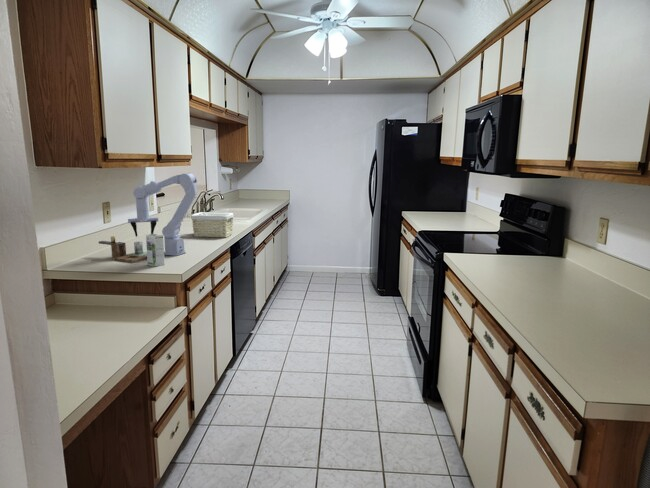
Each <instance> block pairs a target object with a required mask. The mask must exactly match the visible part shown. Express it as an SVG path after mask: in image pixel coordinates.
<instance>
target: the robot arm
mask: <svg viewBox="0 0 650 488" xmlns="http://www.w3.org/2000/svg"><path fill="white" fill-rule="evenodd" d="M141 185H142V186H137V187H136V188H134V190H133V196H134V197H135V205H136V206H135V207H136V208H135V209H136V218H128V219H127V222H128V224H130V225H131V227H132V229H133V231H134V235H135V237H138V231H137V229H138V227H137V223H150V234H154V231H155V228H156V225H157V222H159V217H150V212H149V198H148V197H150V196H152V195H155V194H157V193H159V192H161V191H162V189H163V188H166V187H168V186H171V185H180V186H181V187H182V189H183V190H184V192H185V194H184V196H183V197H182V200H181V201H180V203H179V205H178V206H177V208H176V211H175V213H174V214H173V216H172V218H171V219H170V220H169V222H167V224H166V225H165V226H164V227H163V228H162V231H161V232H162V235H163V240H164V256H165V255H166V256H167V255H168V256H174V257H177V256H180V255H183V254H186V251H185V241H184V239H183V238H182V237H180V235H179V233H180V231H181V226H182V222H183V220H184V218H185V216H186V215H187V213H188V211H189V209H190V208H191V206H192V204H193V202H194V200H195V199H196V196H197V195H198V186H197V185H198V180H197V177H196V175H195V174H194V173H191V172H187V173H181V174H177V175H173V176H171V177H168V178H167V179H164V180H162V181H159V182H158V181H156V180H155V181H154V180H151V181H150V182H149V183H147V184H141Z"/></svg>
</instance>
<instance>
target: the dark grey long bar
mask: <svg viewBox="0 0 650 488" xmlns="http://www.w3.org/2000/svg"><path fill="white" fill-rule="evenodd" d="M112 243H113V244H119V246H122V245H124V243H125V242H123V243H118V242H117V241H116V236H114V235H113V236H110V241H107V240H100V241H98V244H99V245H100V244H101V245H108V246H111V244H112Z"/></svg>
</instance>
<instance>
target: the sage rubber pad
mask: <svg viewBox="0 0 650 488" xmlns="http://www.w3.org/2000/svg"><path fill="white" fill-rule="evenodd" d="M128 254H135V251H133V252H130V253H126V255H128ZM135 255H137V254H135ZM138 255H142V256H147V251H143V254H138Z"/></svg>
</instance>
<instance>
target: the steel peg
mask: <svg viewBox="0 0 650 488" xmlns="http://www.w3.org/2000/svg"><path fill="white" fill-rule="evenodd" d="M133 248H134V252H135V254H137V255H138V254H143V252H144V249H143V241H134V242H133Z"/></svg>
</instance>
